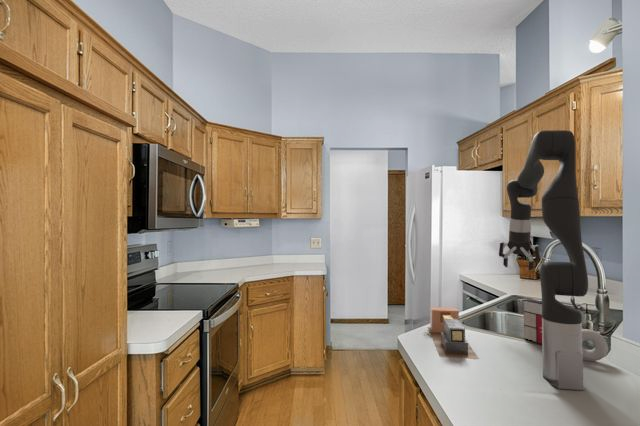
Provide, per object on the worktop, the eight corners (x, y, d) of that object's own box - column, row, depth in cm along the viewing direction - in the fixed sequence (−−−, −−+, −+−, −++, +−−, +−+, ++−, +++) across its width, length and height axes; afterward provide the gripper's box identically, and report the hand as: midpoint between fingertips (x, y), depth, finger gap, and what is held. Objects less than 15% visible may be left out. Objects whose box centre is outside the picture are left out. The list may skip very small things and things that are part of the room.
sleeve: (468, 355, 118) (468, 328, 118) (446, 353, 119) (446, 327, 119) (461, 342, 130) (460, 319, 130) (440, 341, 131) (440, 318, 131)
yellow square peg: (462, 340, 118) (462, 331, 118) (452, 340, 119) (452, 331, 119) (450, 323, 139) (450, 315, 139) (442, 323, 139) (442, 315, 139)
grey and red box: (522, 339, 138) (521, 299, 138) (530, 337, 139) (529, 298, 140) (551, 348, 128) (550, 305, 128) (559, 346, 129) (558, 304, 130)
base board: (479, 362, 115) (479, 358, 115) (439, 360, 117) (439, 356, 117) (458, 331, 147) (458, 328, 147) (427, 330, 149) (427, 327, 149)
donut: (569, 359, 118) (569, 328, 118) (569, 355, 121) (569, 325, 121) (609, 365, 112) (608, 333, 112) (607, 362, 115) (607, 330, 115)
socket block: (458, 333, 141) (458, 311, 141) (432, 332, 143) (431, 310, 143) (456, 329, 146) (456, 308, 146) (430, 328, 147) (430, 307, 148)
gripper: (498, 229, 146) (497, 268, 149) (539, 233, 138) (537, 273, 141) (501, 226, 152) (500, 263, 155) (541, 229, 144) (539, 268, 147)
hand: (518, 268), depth 148 cm, fingers open, 8 cm apart
